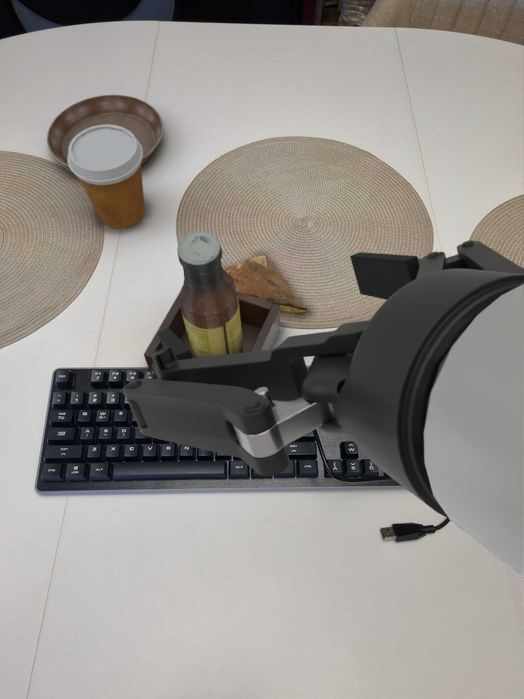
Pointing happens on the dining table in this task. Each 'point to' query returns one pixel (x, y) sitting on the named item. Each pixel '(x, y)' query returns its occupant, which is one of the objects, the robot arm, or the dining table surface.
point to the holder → (255, 323)
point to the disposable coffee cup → (110, 173)
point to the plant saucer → (106, 122)
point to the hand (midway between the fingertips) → (269, 310)
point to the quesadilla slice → (264, 283)
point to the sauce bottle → (208, 298)
